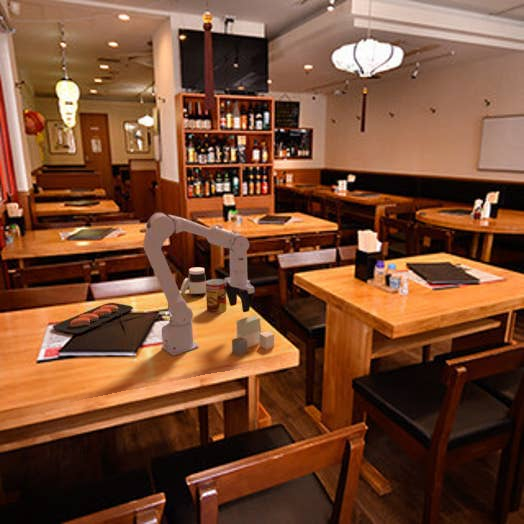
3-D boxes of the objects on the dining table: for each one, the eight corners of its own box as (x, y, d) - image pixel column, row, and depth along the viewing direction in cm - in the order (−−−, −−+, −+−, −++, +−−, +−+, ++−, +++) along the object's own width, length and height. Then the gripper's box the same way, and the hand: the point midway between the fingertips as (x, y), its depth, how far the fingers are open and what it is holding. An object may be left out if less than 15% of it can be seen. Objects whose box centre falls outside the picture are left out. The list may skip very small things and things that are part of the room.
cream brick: (243, 349, 133) (243, 336, 132) (237, 345, 136) (236, 333, 135) (260, 342, 138) (260, 330, 137) (254, 339, 140) (253, 327, 139)
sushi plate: (110, 306, 175) (109, 297, 174) (166, 317, 162) (166, 308, 161) (49, 331, 150) (48, 322, 149) (110, 347, 137) (109, 336, 136)
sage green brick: (253, 327, 139) (253, 315, 138) (260, 330, 137) (259, 318, 136) (237, 333, 135) (236, 320, 134) (243, 336, 132) (242, 323, 131)
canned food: (203, 310, 167) (201, 282, 164) (216, 305, 173) (215, 277, 170) (217, 314, 162) (216, 285, 159) (230, 309, 168) (229, 280, 165)
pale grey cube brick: (266, 349, 133) (266, 337, 132) (259, 346, 136) (259, 333, 134) (274, 346, 135) (274, 334, 134) (267, 343, 138) (267, 330, 136)
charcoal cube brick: (238, 356, 129) (238, 343, 128) (232, 352, 131) (231, 339, 130) (247, 353, 131) (247, 340, 130) (241, 349, 133) (240, 336, 132)
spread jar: (207, 296, 183) (207, 271, 180) (182, 299, 180) (180, 273, 177) (204, 288, 195) (203, 264, 192) (179, 290, 192) (178, 266, 189)
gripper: (261, 272, 133) (261, 311, 137) (236, 263, 145) (237, 300, 148) (243, 276, 129) (244, 316, 133) (218, 266, 140) (220, 304, 144)
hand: (239, 308), depth 140 cm, fingers open, 7 cm apart
